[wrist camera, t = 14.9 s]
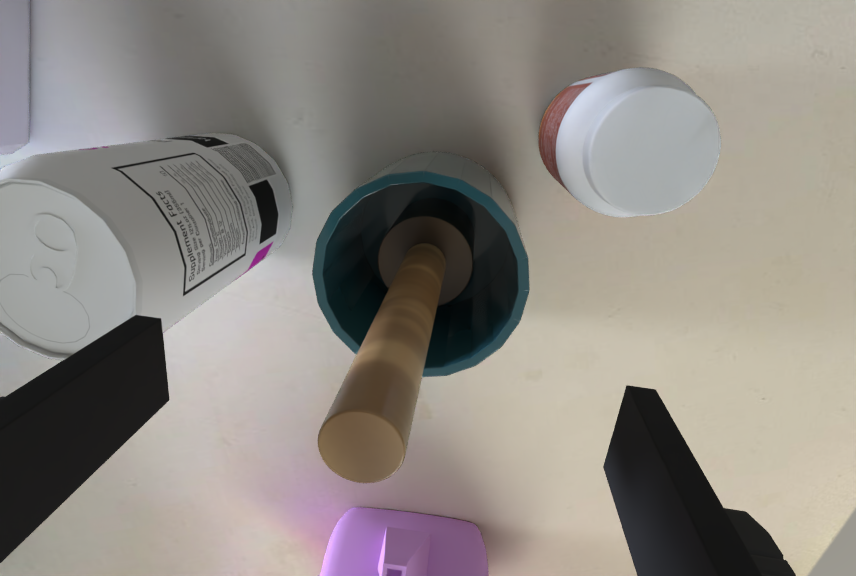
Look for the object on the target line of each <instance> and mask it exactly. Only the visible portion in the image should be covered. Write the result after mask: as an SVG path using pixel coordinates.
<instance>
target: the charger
mask: <svg viewBox="0 0 856 576" xmlns="http://www.w3.org/2000/svg"><path fill="white" fill-rule="evenodd" d="M29 51H30V0H0V155H4V154H12V153H14V152H15V151H17V150H19V149H20V148H22V147H23V146H25V145H26V144H28V143H29Z"/></svg>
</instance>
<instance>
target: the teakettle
mask: <svg viewBox="0 0 856 576" xmlns="http://www.w3.org/2000/svg"><path fill="white" fill-rule="evenodd" d="M318 576H319V575H318ZM320 576H489V575H488V562H487V554H486V548H485V544H484V541H483V538H482V535H481V533H480V531H479V529H478V527H477V526H476V525H475V524H474V523H471V522H468V521H463V520H458V519H453V518H447V517H440V516H434V515H427V514H420V513H413V512H404V511H396V510H386V509H376V508H361V507H356V508H351V509H349V510H348V511H347V512H346V513H345V514H344V515H343V516H342V517H341V519H340V520H339V522H338V523H337V524H336V526H335V528H334V531H333V533H332V535H331V538H330V541H329V544H328V547H327V550H326V554H325V558H324V562H323V566H322V570H321V574H320Z"/></svg>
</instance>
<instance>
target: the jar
mask: <svg viewBox="0 0 856 576" xmlns="http://www.w3.org/2000/svg"><path fill="white" fill-rule="evenodd" d="M427 198H439V199H444V200H447V201H449V202H451V203H454V204H455V205H457V206H458V207H459V208H460V209H462V210H463V211H464V213H465V214H466V215H467V216H468V218H469V220H470V222H471V224H472V227H473V230H474V257H473V270H472V275H471V278H470V280H469V282H468V284H467V286H466V287H465V289H464V290H463V291H462V292H461V294H460V295H459V296H457V297H456V298H455V299H453V300H452V301H450V302H448V303H446V304H443V305H440V306H437V310H436V314H435V319H434V324H433V328H432V333H431V338H430V342H429V347H428V351H427V356H426V361H425V365H424V370H423V375H422V377H432V376H447V375H450V374H453V373H456V372H459V371H462V370H465V369H468V368H471V367H474V366H476V365H478V364H479V363H480V362H482V361H483V360H484V359H486V358H487V357H489V356H490V355H491V354H493V353H494V352H496V351H497V350H498V349H500V348H501V347H502V346H503V344H504V343H505V342H506V340H507V339H508V338H509V336H510V335H511V333H512V332H513V331H514V329H515V328H516V326H517V325H518V324H519V321H520V320H521V317H522V314H523V310H524V307H525V304H526V301H527V297H528V294H529V265H528V256H527V252H526V249H525V245H524V242H523V238H522V235H521V231H520V228H519V224H518V221H517V218H516V215H515V212H514V210H513V207H512V204H511V202H510V199H509V197H508V194H507V193H506V191H505V190H504V188H503V187H502V185H501V184H500V183H499V182H498V180H497V179H496V178H495V177H494V176H493V175H492V174H491V173H490V172H489V171H487V170H486V169H485V168H484V167H482V166H481V165H479V164H478V163H476V162H474V161H472V160H470V159H468V158H466V157H463V156H460V155H457V154H452V153H447V152H423V153H418V154H413V155H410V156H408V157H405V158H402V159H400V160H399V161H397V162H395V163H393V164H390V165H388V166H387V167H385V168H384V169H383V170H381V171H380V172H378V173H377V174H376V175H374V176H373V177H371V178H370V179H369V180H367V181H366V182H364V183H363V184H362V185H360V186H359V187H357V188H356V189H355V190H354V191H353V192H352V193H351V194H349V195H348V196H347V197H346V198H345V199H344V200H343V201H342V202H341V203H340V204H339V205H338V206H337V207H336V208H335V209H334V210H333V211H332V212H331V213H330V215H329V217H328V219H327V221H326V223H325V225H324V227H323V229H322V231H321V233H320V235H319V237H318V239H317V242H316V248H315V255H314V263H313V270H312V272H313V273H312V275H313V280H314V285H315V290H316V296H317V301H318V304H319V307H320V308H321V310H322V312H323V314H324V316H325V318H326V319H327V321H328V323H329V325H330V327H331V329H332V331H333V332H334V333H335V334H336V335H337V336H338V337H339V338H340V339H341V340H342V341H343V342H344V343H345V344H346V345H347V346H348V347H349V348H350V349H351V350H352V351H353V352H354V353H355V354H356V355H357V353H358V351H359V349H360V347H361V345H362V343H363V341H364V339H365V337H366V335H367V333H368V330H369V328H370V326H371V324H372V322H373V320H374V318H375V316H376V314H377V312H378V310H379V308H380V306H381V304H382V302H383V300H384V298H385V296H386V294H387V292H388V290H389V289H388V288H387V286H386V285H385V283H384V282H383V280H382V278H381V275H380V272H379V267H378V253H379V248H380V245H381V243H382V240H383V239H384V237H385V235H386V234H387V232H388V231H389V230H390V228H391V227H392V225H393V224H394V223H395V221H396V220H397V218H398V217H399V216H400V214H401V213H402V212H403V211H404V210H405V209H406V208H407V207H408V206H409V205H411V204H412V203H414V202H416V201H419V200H422V199H427Z"/></svg>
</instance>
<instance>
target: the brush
mask: <svg viewBox="0 0 856 576" xmlns="http://www.w3.org/2000/svg"><path fill="white" fill-rule="evenodd" d="M473 257H474V230H473V227H472V224H471V222H470V220H469V218H468V216H467V215H466V214H465V213H464V211H463V210H462V209H460V208H459V207H458V206H457V205H455V204H454V203H451V202H449V201H447V200H444V199H439V198H427V199H422V200H419V201H416V202H414V203H412V204H411V205H409V206H408V207H407V208H406V209H405V210H404V211H403V212H402V213H401V214H400V216H399V217H398V218H397V220H396V221H395V223H394V224H393V225H392V227H391V228H390V230H389V231H388V232H387V234H386V235H385V237H384V239H383V240H382V243H381V245H380V248H379V253H378V267H379V272H380V275H381V278H382V280H383V282H384V283H385V285H386V286H387V288H388V289H389V290H388V292H387V294H386V296H385V298H384V300H383V302H382V304H381V306H380V308H379V310H378V312H377V314H376V316H375V318H374V320H373V322H372V324H371V326H370V328H369V330H368V333H367V335H366V337H365V339H364V341H363V343H362V345H361V347H360V349H359V351H358V353H357V355H356V357H355V359H354V361H353V363H352V365H351V367H350V369H349V371H348V373H347V375H346V377H345V379H344V382H343V384H342V386H341V388H340V390H339V392H338V394H337V396H336V398H335V400H334V402H333V404H332V406H331V408H330V410H329V412H328V414H327V416H326V418H325V420H324V422H323V424H322V426H321V429H320V431H319V435H318V447H319V452H320V454H321V457H322V459H323V460H324V462H325V463H326V464H327V466H328V467H329V468H330V469H331V470H332V471H334V472H335V473H336V474H338V475H339V476H341V477H343V478H345V479H348V480H351V481H354V482H359V483H374V482H379V481H382V480H385V479H387V478H389V477H390V476H392V475H393V474H394V473H395V472H396V471H397V470H398V469H399V468H400V466H401V465H402V463H403V461H404V458H405V453H406V449H407V444H408V439H409V435H410V430H411V425H412V421H413V416H414V412H415V407H416V402H417V398H418V393H419V388H420V384H421V379H422V375H423V370H424V365H425V361H426V356H427V351H428V347H429V342H430V338H431V333H432V328H433V324H434V319H435V314H436V310H437V306H440V305H443V304H446V303H448V302H450V301H452V300H453V299H455V298H456V297H457V296H459V295H460V294H461V292H462V291H463V290H464V289H465V287H466V286H467V284H468V282H469V280H470V278H471V275H472V270H473Z"/></svg>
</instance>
